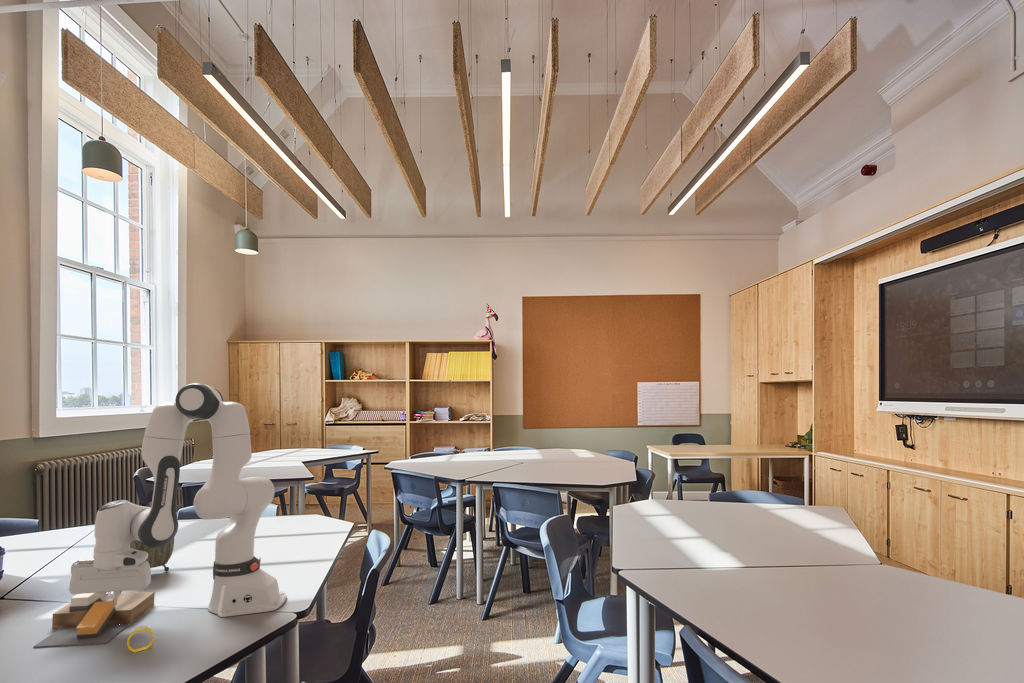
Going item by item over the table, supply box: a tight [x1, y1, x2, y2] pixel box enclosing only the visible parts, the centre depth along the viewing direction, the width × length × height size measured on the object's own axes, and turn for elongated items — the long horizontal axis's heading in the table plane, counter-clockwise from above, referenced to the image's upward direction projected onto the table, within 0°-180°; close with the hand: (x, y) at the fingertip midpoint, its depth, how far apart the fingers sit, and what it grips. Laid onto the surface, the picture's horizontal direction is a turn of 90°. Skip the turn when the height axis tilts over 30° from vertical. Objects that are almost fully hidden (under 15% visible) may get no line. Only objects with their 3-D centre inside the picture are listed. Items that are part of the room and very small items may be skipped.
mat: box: [33, 624, 130, 649], centre depth 161 cm, size 18×12×1 cm, turn 97°
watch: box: [126, 624, 155, 654], centre depth 153 cm, size 6×3×6 cm, turn 124°
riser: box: [51, 591, 156, 629], centre depth 174 cm, size 21×14×4 cm, turn 97°
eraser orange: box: [76, 601, 116, 639], centre depth 163 cm, size 5×10×4 cm, turn 8°
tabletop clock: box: [130, 505, 175, 572], centre depth 210 cm, size 14×9×25 cm, turn 111°
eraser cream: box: [69, 592, 107, 611], centre depth 174 cm, size 5×10×4 cm, turn 7°
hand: (110, 606), depth 169 cm, fingers closed
